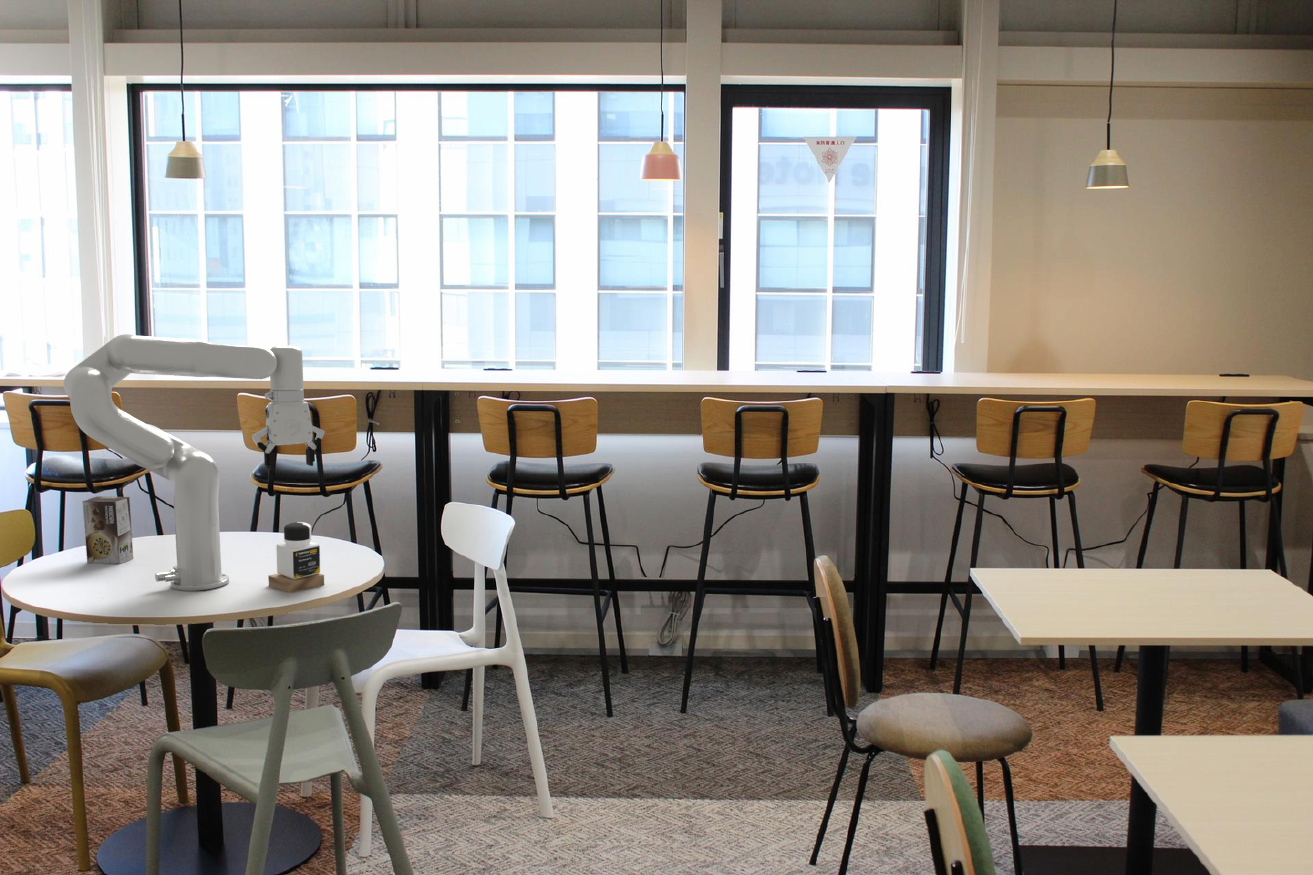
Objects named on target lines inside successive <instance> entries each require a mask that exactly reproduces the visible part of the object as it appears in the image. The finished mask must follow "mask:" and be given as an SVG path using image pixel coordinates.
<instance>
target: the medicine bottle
mask: <svg viewBox="0 0 1313 875" xmlns="http://www.w3.org/2000/svg"><path fill="white" fill-rule="evenodd" d="M283 540H284V541H283V542H282V543H277V544H276V546H275V547H276V548H275V549H276V570H277V571H276V574H281V575H284V576H286V577H289V578H291V579H299V578H303V577H307V576H311V575H315V574H319V573H320V574H321V551H320V544H319V543H316V542H313V541H312V525H311V524H310V523H307V522H301V521H297V522H296V521H295V522H290V523H288V524H286V525H285V526H284V527H283Z"/></svg>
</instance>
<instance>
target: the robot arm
mask: <svg viewBox="0 0 1313 875" xmlns="http://www.w3.org/2000/svg"><path fill="white" fill-rule="evenodd" d="M303 363H304V362H303V351H302V348H301V347H300V346H297V345H275V346H261V345H251V344H248V345H247V344H246V345H232V344H220V343H214V342H208V341H204V340H200V339H193V338H192V339H191V338H177V337H160V336H149V335H148V336H146V335H134V334H128V333H126V334H124V333H123V334H119V335H116V336H115V337H113V338H112V339H111V340H109V341H108V342H106V343H105V344H104V345H103V346H101V347H100V348H98V349H97V350H96V351H94V352H92V354H90V355H89V356H87V357H86V358H85V359H84V360H82V361H80V362H79V363H78V364H77V365H75V366H74V367H73V368H72V369H70V370H69V371H68V372H67V374H66V375H65V376H64V379H63V391H64V393H65V394H66V396H67V397H68V398H69V404H70V409H71V414H72V416H73V419H74V421H75V423H76V424H77V426H78V428H79V429H80V430H81V431H82V432H83V433H84V434H86V435H87V436H88V437H90V438H91V439H93V440H94V441H96V442H98V443H99V444H101V445H103V446H104V447H106V448H108V449H110V450H112V451H114V452H115V453H117V454H120V455H121V456H123V457H125V458H127V459H128V460H129V461H131V462H132V463H133V464H134V465H137V466H139V467H141V468H143V469H146V470H148V471H149V472H152V473H154V474H155V475H158V476H160V477H162V478H164V479H166V480H167V481H170V482H172V483H174V484H173V485H174V493H173V494H174V495H173V497H174V498H173V514H174V517H173V518H174V530H175V531H174V532H175V549H176V550H175V551H176V552H175V553H176V565H173V567H172V569H169V571H167V572H164V571H163V572H158V573H155V575H154V579H155V581H156V582H164V583H165V582H166V583H168V582H170V587H171V588H172V589H174V590H176V591H185V592H186V591H187V592H188V591H189V592H192V591H195V592H197V591H204V590H205V591H206V590H211V589H216V588H220V587H223V586H225V585H227V584H228V583H229V582H230V578H229V575H228V574H226V573H222V557H221V555H222V554H221V535H220V534H221V533H220V531H221V530H220V515H219V511H220V510H219V493H220V492H219V490H220V471H219V467H218V464H217V463H216V461H215V459H214V458H213V457H212V456H210V455H209V454H208V453H206V452H204V451H202V450H200V449H198V448H196V447H194V446H192V445H190V444H189V443H186V442H185V441H182V440H181V439H179V438H177V437H175V436H174V435H172V434H169V433H168V432H166V431H164V430H162V429H161V428H159V427H157V426H156V425H154V424H153V425H152V424H149V423H145V422H143V421H142V420H140V419H138V418H136V417H134V416H132V415H131V414H129V413H128V412H126V411H125V410H122V409H120V408H119V407H118V406H117V405H116V404H115V403H114V401H113V399H112V397H113V396H112V395H113V394H112V391H113V388H114V387H115V386H116V385H118V384H119V383H120V382H122V381H123V380H124V379H125V378H127V377H128V376H129V375H131V374H137V375H154V376H155V375H158V376H159V375H160V376H174V377H175V376H176V377H179V376H180V377H193V378H194V377H195V378H227V379H229V378H230V379H244V380H245V379H247V380H266V379H267V378H270V379H269V380H270V381H269V384H270V389H269V392H266V393H265V392H264V399H265V400H267V399H268V400H270V402H268V405H267V411H266V420H265V427H264V428H262V429H259V431H257V432H255V433H254V434H252V435H251V438H252V440H253V442H254V444H255V446H257V448H258V449H260V450H261V451H262V452H263V456H264V457H263V458H264V459H263V460H264V461H263V463H264V466H265V467H266V469H267V470H274V468H275V467H274V454H273V452H272V451H273V449H274V448H275V447H276V446H284V445H285V446H286V445H287V446H288V445H299V444H300V445H301V444H304V445H305V446H306V447H307V448H305V463H306V465H307V466H309V467H313V466H314V462H315V461H316V456H315V455H316V454H315V450H316V449H317V447H318V446H319V445H320V444H321V442H322V440H323V438H324V435H325V434H326V431H325V430H323V429H321V428H319V427H316V426H314V425H313V423H312V418H311V412H310V406H309V403H308V401H305V396H304V395H305V393H304V372H303V371H304V369H303ZM313 432H314V433H316V437H315V438H314V437H313V436H314V434H313ZM264 436H265V439H266V443H265V444H264V442H262V440H261V438H262V437H264Z"/></svg>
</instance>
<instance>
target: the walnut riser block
mask: <svg viewBox="0 0 1313 875" xmlns="http://www.w3.org/2000/svg"><path fill="white" fill-rule="evenodd" d="M268 586H269V587H271V588H275V589H277V590H280V591H284V592H286V593H289V594H291V593H296V592H300V591H304V590H309V589H313V588H317V587H321V586H325V574H324V573H323V574H322V573H321V572H320V573H319V574H315V575H311V576H307V577H303V578H299V579H291V578H289V577H286V576H284V575H281V574H278V573H273V574H269V575H268Z"/></svg>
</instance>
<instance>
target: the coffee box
mask: <svg viewBox="0 0 1313 875" xmlns="http://www.w3.org/2000/svg"><path fill="white" fill-rule="evenodd" d="M130 500H131V498H130V496H94V497H91V498H88V499H86V500H83V501H82V512H83V524H84V535H85V536H84V539H85V548H86V549H85V551H86V563H87V564H113V565H114V564H117V565H118V564H119V565H120V564H122V563H125V562H128V561H130V560H133V559H134V550H133V548H134V547H133V534H132V519H131V518H132V516H131V502H130Z"/></svg>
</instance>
